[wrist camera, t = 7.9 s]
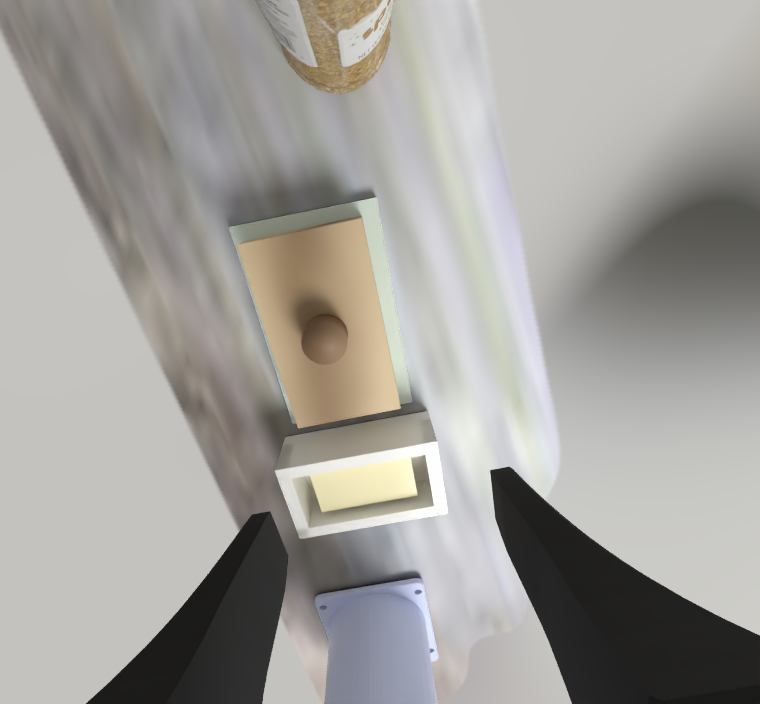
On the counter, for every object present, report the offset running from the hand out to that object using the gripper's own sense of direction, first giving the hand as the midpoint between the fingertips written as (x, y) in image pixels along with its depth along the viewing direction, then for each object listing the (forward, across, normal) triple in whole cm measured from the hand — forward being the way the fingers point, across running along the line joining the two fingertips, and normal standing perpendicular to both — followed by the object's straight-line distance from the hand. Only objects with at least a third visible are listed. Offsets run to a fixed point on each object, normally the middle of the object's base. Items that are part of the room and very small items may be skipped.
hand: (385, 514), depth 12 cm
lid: (+10, +2, -4) cm, 10 cm away
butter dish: (+10, +2, +5) cm, 11 cm away
